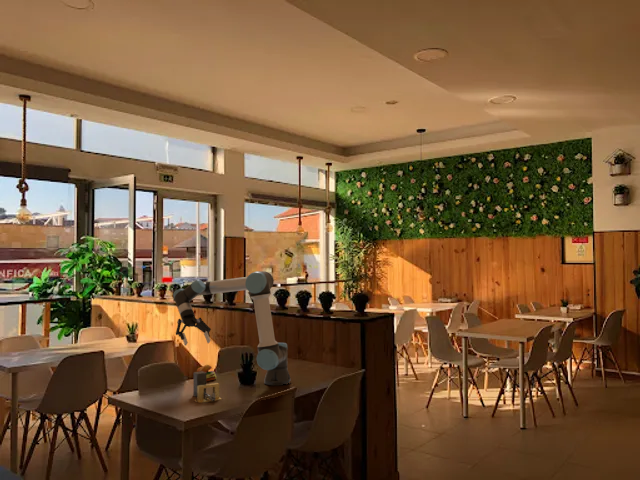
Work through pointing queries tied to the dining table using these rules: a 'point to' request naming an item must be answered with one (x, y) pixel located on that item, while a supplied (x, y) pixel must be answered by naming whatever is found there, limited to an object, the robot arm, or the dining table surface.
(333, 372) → the dining table surface
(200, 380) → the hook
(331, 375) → the dining table surface
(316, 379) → the dining table surface
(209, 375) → the cheeseburger
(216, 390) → the eye bracket
